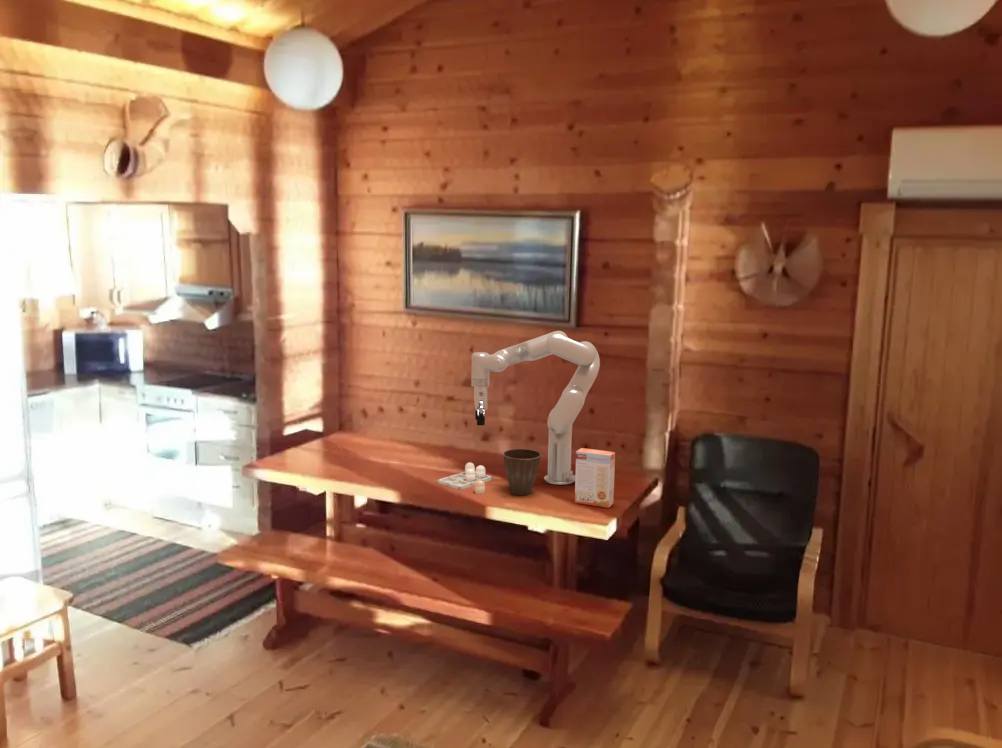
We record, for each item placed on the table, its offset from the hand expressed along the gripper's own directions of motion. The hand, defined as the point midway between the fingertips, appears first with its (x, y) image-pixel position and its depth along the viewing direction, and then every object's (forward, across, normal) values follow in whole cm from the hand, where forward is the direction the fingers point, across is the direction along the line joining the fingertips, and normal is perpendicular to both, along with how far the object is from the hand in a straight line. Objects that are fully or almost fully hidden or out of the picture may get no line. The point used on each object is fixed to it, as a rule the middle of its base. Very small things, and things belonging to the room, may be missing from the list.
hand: (479, 422), depth 364 cm
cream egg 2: (+22, -12, +4) cm, 26 cm away
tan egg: (+24, -24, +1) cm, 34 cm away
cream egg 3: (+22, -8, 0) cm, 24 cm away
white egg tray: (+23, -10, +7) cm, 26 cm away
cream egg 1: (+22, -3, +4) cm, 23 cm away
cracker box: (+24, -38, -42) cm, 61 cm away
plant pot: (+24, -23, -15) cm, 36 cm away
